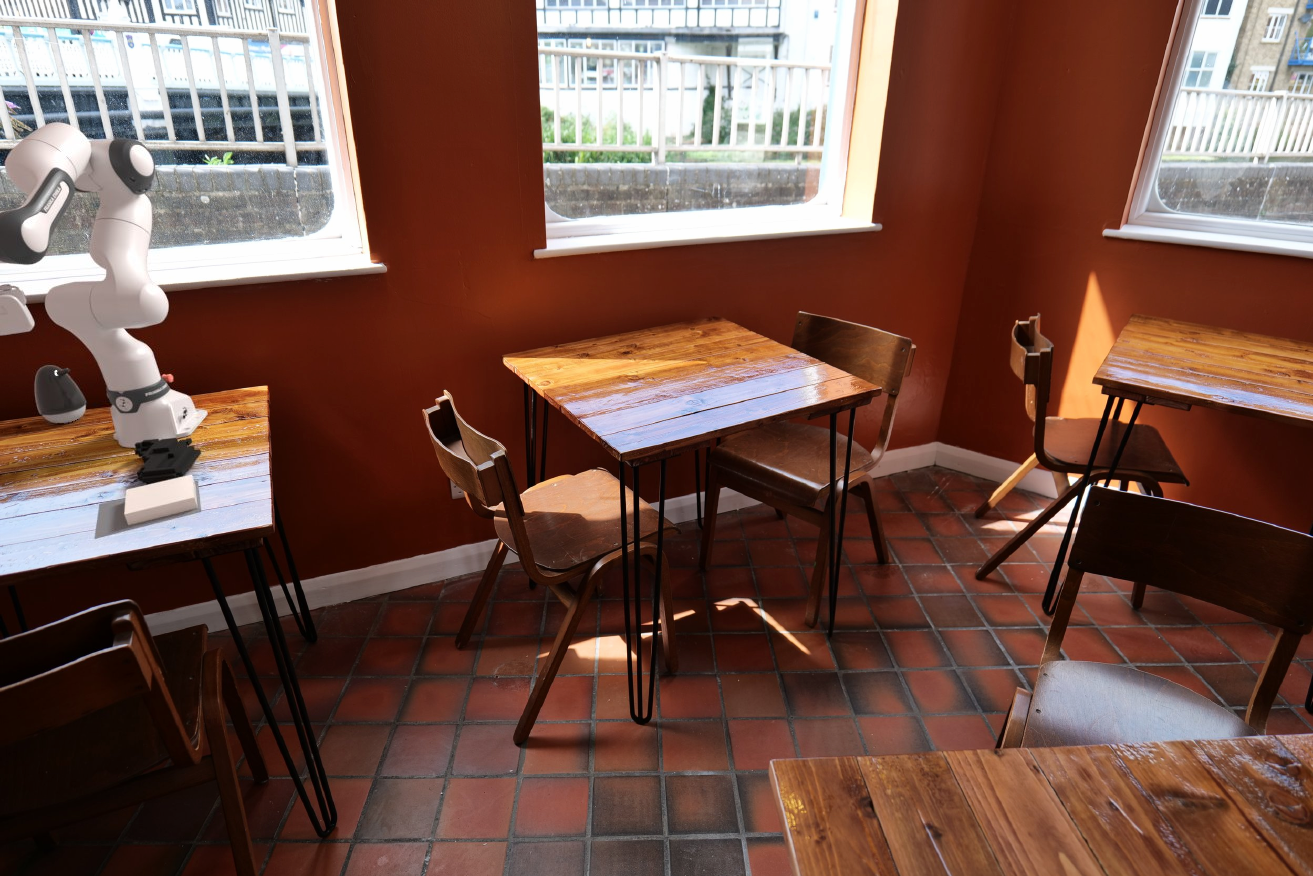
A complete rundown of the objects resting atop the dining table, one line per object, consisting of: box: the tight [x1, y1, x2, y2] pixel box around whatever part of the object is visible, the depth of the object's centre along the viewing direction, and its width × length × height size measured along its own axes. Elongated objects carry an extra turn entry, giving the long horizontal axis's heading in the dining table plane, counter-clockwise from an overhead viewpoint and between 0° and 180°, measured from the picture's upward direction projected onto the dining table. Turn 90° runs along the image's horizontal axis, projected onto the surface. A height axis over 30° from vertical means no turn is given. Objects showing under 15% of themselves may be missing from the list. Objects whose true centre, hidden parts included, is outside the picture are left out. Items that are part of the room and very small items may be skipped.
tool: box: [134, 437, 202, 485], centre depth 169 cm, size 5×20×15 cm
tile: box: [124, 474, 198, 525], centre depth 155 cm, size 3×12×12 cm
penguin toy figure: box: [34, 364, 87, 424], centre depth 196 cm, size 10×10×15 cm
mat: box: [94, 480, 202, 540], centre depth 154 cm, size 18×16×1 cm
